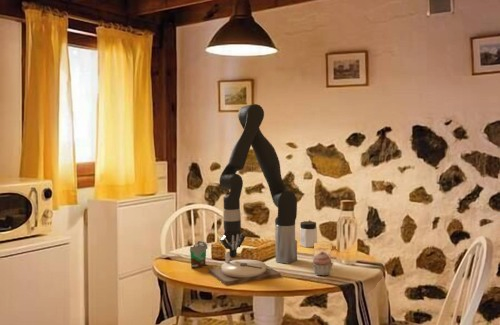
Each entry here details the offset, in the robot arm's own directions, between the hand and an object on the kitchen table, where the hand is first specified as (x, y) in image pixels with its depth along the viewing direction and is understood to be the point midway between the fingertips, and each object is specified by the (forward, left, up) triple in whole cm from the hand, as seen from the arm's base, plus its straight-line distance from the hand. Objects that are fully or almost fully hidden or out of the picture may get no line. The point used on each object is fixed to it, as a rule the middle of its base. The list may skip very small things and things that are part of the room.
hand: (233, 257), depth 240 cm
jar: (-52, -24, -6) cm, 57 cm away
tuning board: (-1, +8, -6) cm, 10 cm away
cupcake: (-31, +23, -6) cm, 39 cm away
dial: (-1, +8, -4) cm, 9 cm away
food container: (+11, -13, -6) cm, 18 cm away
